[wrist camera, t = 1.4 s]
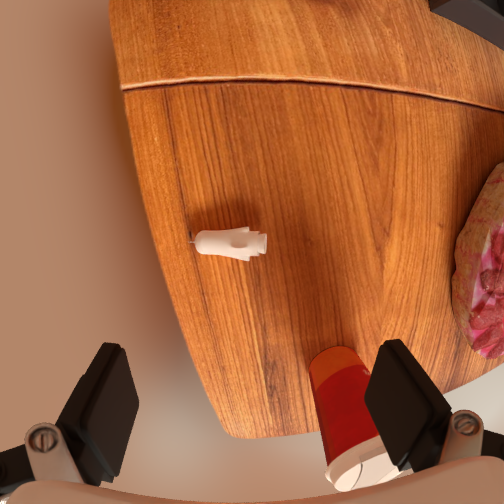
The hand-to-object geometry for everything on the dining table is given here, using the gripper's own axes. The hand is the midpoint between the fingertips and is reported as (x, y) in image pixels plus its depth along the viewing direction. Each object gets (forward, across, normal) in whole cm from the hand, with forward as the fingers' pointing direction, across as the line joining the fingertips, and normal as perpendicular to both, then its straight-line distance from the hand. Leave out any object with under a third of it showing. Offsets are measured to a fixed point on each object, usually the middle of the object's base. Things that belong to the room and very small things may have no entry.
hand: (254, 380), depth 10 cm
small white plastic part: (+16, +1, -1) cm, 16 cm away
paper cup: (+16, -10, +13) cm, 23 cm away
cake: (+16, -34, 0) cm, 37 cm away
